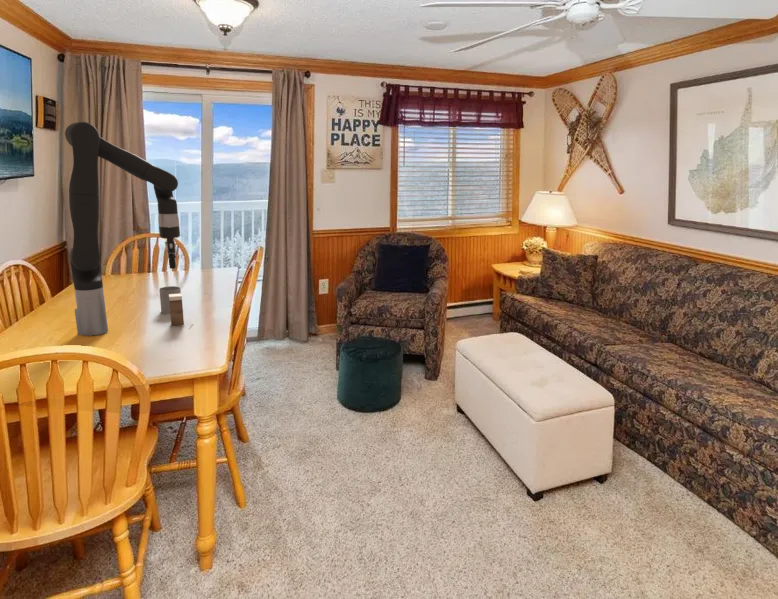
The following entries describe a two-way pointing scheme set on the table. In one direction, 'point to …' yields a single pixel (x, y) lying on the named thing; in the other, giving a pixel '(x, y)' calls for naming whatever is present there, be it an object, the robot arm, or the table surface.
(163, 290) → the cup
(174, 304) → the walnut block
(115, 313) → the table surface
